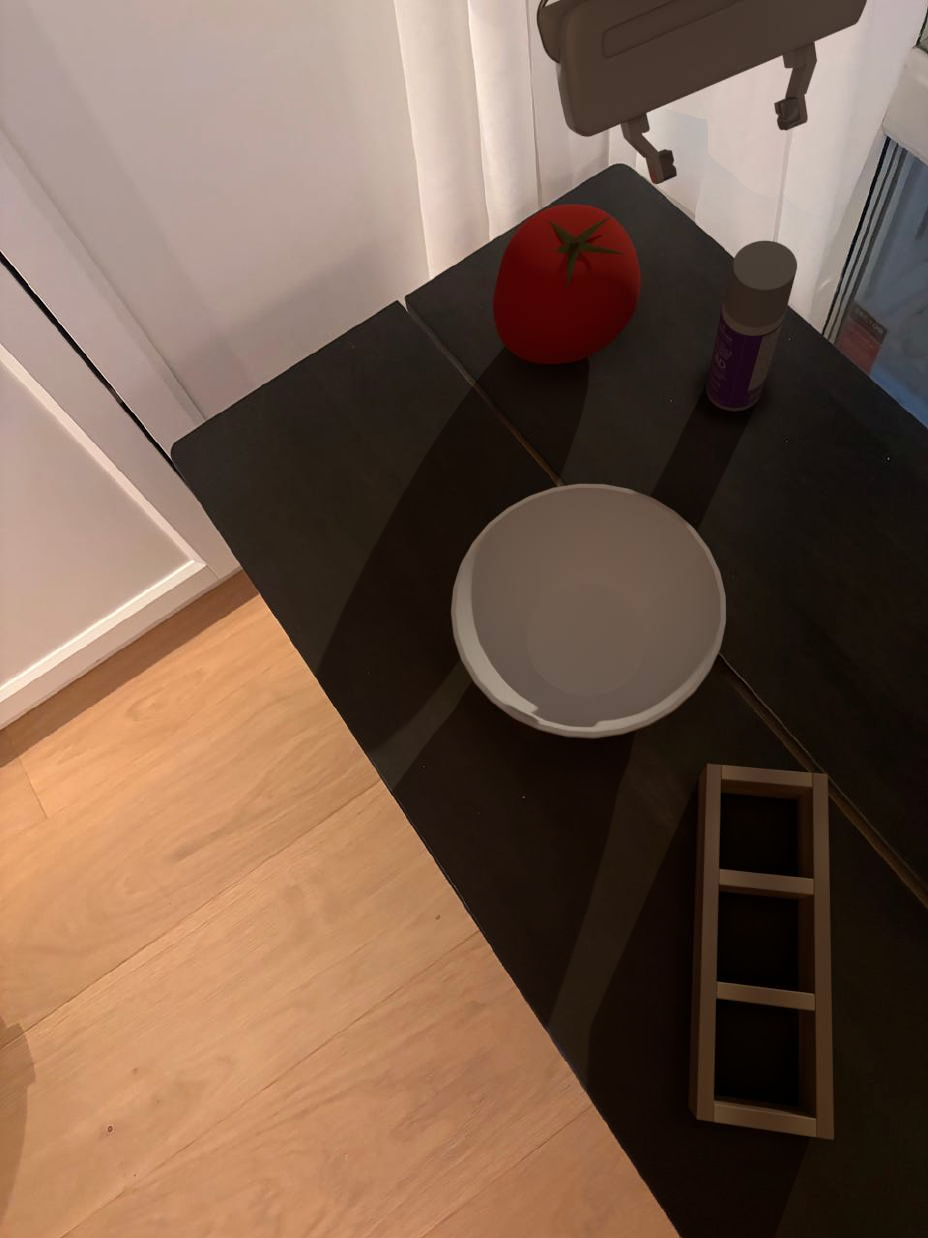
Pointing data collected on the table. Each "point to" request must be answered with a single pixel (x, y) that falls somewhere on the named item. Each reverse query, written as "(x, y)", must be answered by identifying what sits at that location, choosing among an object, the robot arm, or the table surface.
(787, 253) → the container
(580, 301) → the tomato
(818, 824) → the rack
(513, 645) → the bowl
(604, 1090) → the table surface
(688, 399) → the table surface
